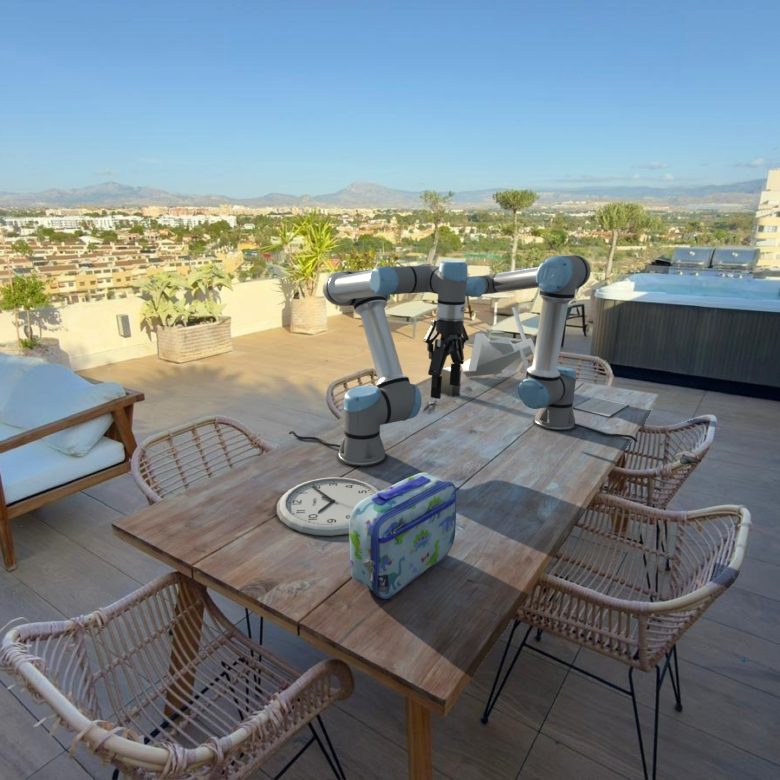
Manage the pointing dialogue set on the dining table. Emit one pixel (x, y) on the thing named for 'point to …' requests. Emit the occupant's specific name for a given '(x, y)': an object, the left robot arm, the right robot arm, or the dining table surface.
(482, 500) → the dining table surface
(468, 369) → the white plastic object
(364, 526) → the lunch box
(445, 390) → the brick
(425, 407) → the fork
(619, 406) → the invitation card
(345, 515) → the wall clock
